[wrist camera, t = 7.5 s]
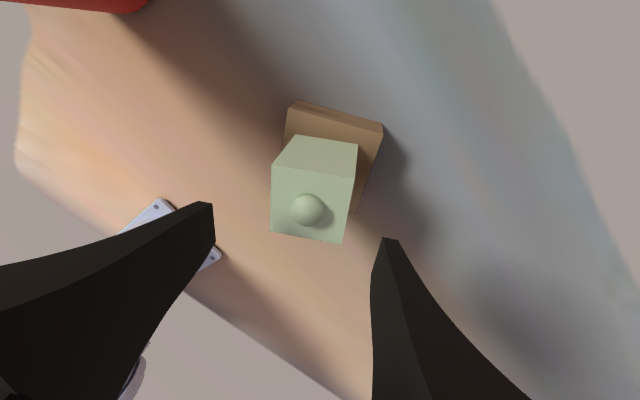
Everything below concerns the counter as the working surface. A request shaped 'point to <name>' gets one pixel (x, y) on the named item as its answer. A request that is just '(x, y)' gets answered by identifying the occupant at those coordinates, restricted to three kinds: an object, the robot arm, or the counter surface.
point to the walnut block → (337, 136)
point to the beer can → (91, 4)
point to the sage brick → (312, 188)
